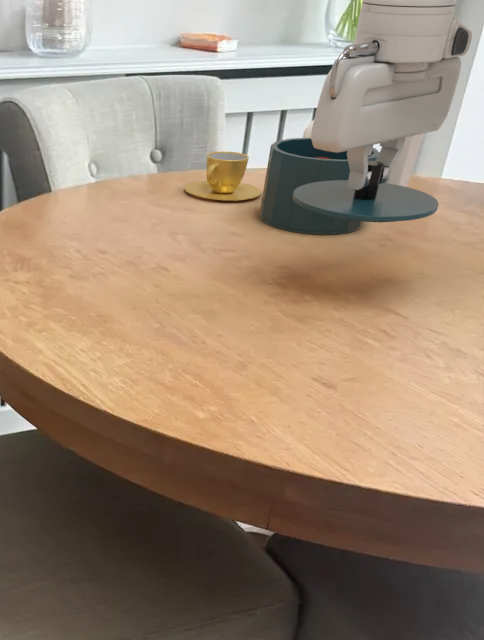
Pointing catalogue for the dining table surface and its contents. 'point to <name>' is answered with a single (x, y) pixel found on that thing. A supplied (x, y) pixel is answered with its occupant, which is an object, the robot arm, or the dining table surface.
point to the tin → (294, 171)
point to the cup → (224, 178)
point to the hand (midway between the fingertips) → (367, 185)
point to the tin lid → (366, 200)
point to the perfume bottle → (405, 161)
